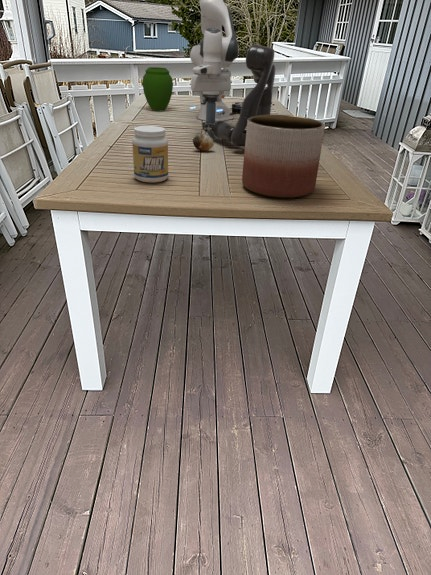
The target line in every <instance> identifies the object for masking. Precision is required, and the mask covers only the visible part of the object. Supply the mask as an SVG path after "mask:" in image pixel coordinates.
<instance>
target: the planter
mask: <svg viewBox="0 0 431 575" xmlns="http://www.w3.org/2000/svg"><path fill="white" fill-rule="evenodd" d="M246 130H247V131H246V142H245V147H244V152H243V162H242V163H243V164H242V174H241V182H242V185H243V186H244V187H245V188H246V189H247V190H249V191H250V192H251V193H255V194H257V195H259V196H264V197H268V198H275V199H296V198H301V197H304V196H307V195H309V194H311V193H312V192H314V190H315V188H316V184H317V178H318V173H319V167H320V166H319V165H320V160H321V154H322V149H323V148H322V147H323V141H324V135H325V130H326V124H325V122H322V121H321V120H318V119H314V118H311V117H306V116H300V115H292V114H291V115H290V114H270V115H257V116H252V117H250V118H248V120H247V127H246Z"/></svg>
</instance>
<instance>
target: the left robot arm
mask: <svg viewBox="0 0 431 575" xmlns="http://www.w3.org/2000/svg"><path fill="white" fill-rule="evenodd" d="M194 1H195V2H199V7H200V25H201V26H200V29H201V33H202V35H203V37H202V39H200V41H199V44H196V45H193V46H192V48H191V49H190V52H189V58H190V60H191V63H192V64H193V65H194V67H193V68H192V73H193V74H192V75H191V79H190V90H191V91H192V92H197V95H199V102H200V104H199V111H198V116H197V119H198V120H201V121H206V102H207V101H206V96H216V97H217V102H216V115H215V122H218V121H224V122H226V121H231V120H234V117H233V115H237V114H238V112H235V113H232V112H230V108H229V106H227V105H226V104H225V102H224V101H222V99H223V100H225V98H226V96H225V94H224V92H230V91H231V90H232V73H231V70H229V69H228V68H229V67H230V66H232V64H233V62H234V61H235V60H236V59H237V58H238V57H239V52H240V47H239V43H238V39H237V36H236V31H235V27H234V21H233V17H232V13H231V9H230V7H229V6H227V5H226V3H225V2H227V1H228V0H194ZM223 28H224V32H225V36H224V35H223ZM226 68H227V69H226ZM272 103H273V102H272ZM272 103H271V105H273V106H275V103H274V104H272ZM189 109H190V110H192V109H196V106H191V107H189Z"/></svg>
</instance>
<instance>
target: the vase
mask: <svg viewBox="0 0 431 575" xmlns="http://www.w3.org/2000/svg"><path fill="white" fill-rule="evenodd" d="M141 84H142V89H143V94H144V97H145V100H146V102H147V104H148V107H149V108H150V109H151V110H152V111H154V112H164V111H165V110H166V109H167V108H168V106H169V104H170V102H171V99H172V95H173V88H174V82H173V77H172V76H171V74H170V70H169V69H167V67H155V66H154V67H151V66H149V67H148V68H147V69H145V73H144V74H143V76H142V81H141Z"/></svg>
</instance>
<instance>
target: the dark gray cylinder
mask: <svg viewBox="0 0 431 575" xmlns="http://www.w3.org/2000/svg"><path fill="white" fill-rule="evenodd" d="M215 115H216V102H206V120H205V123H215V122H216V121H215ZM205 132H207V133H208V135H209V136H210V137H211V138H212V139H215V137H216V136H215V134H214V132H212V131H209V130H207V131H205Z"/></svg>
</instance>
